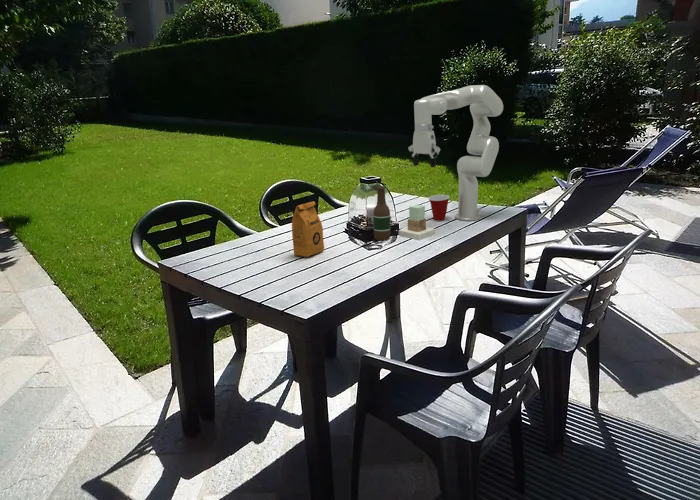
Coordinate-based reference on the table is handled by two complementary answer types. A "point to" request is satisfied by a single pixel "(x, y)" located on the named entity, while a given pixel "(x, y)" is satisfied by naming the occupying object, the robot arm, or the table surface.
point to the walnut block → (416, 225)
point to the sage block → (417, 212)
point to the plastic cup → (439, 206)
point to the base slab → (417, 233)
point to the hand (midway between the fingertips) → (424, 166)
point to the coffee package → (307, 231)
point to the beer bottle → (381, 217)
